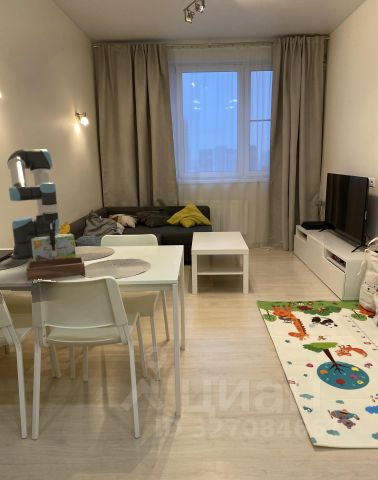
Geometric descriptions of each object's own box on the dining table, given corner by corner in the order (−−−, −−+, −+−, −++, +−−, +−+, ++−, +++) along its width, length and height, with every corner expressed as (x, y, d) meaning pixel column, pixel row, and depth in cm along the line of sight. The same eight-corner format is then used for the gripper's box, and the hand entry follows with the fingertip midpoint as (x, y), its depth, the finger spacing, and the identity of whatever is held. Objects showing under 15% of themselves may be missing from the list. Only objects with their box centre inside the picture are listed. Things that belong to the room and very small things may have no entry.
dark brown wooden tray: (30, 272, 190) (28, 261, 189) (84, 266, 198) (83, 256, 197) (27, 280, 177) (26, 269, 176) (85, 274, 185) (84, 263, 184)
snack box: (36, 268, 191) (33, 240, 188) (34, 266, 196) (30, 238, 192) (76, 261, 203) (74, 234, 200) (73, 259, 208) (70, 233, 204)
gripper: (43, 210, 201) (48, 250, 206) (41, 215, 183) (46, 259, 188) (58, 209, 203) (62, 249, 208) (57, 214, 185) (61, 258, 190)
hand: (54, 254), depth 198 cm, fingers closed on snack box, 7 cm apart
